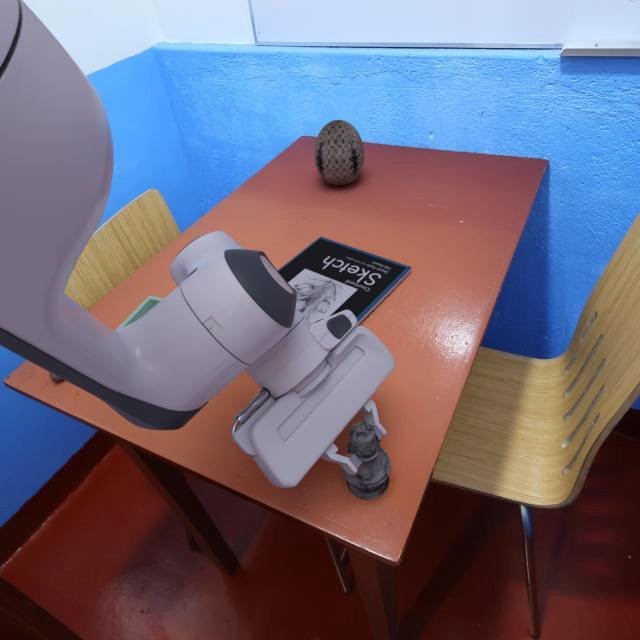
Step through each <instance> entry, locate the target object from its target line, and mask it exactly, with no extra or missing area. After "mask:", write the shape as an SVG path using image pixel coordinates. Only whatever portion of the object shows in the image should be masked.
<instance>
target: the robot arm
mask: <svg viewBox="0 0 640 640" xmlns="http://www.w3.org/2000/svg"><path fill="white" fill-rule="evenodd" d="M114 154H115V153H114V139H113V133H112V127H111V123H110V120H109V117H108V113H107V110H106V106H105V105H104V102H103V99H102V98H101V96H100V94H99V92H98V91H97V89H96V88H95V87H94V85H93V84H92V82H91V81H90V80H89V78H88V77H87V76H86V74H85V72H84V71H83V70H82V69H81V68H80V66H79V65H78V64H77V62H76V61H75V59H74V58H73V57H72V56H71V54H69V52H68V51H67V50H66V49H65V47H64V46H63V45H62V44H61V43H60V41H59V40H58V39H57V38H56V36H55V35H54V34H53V33H52V32H51V30H50V29H49V28H48V27H47V26H46V25H45V24H44V23H43V21H42V20H41V19H40V18H39V17H38V16H37V15H36V13H34V11H33V10H32V9H31V8H30V7H29V6H28V5H27V4H26V3H25V1H24V0H0V346H1V347H2V348H5V350H7V351H10V352H11V353H13V354H15V355H17V356H19V357H20V358H22V359H24V360H26V361H28V362H30V363H31V364H34V365H36V366H37V367H39V368H41V369H43V370H44V371H46V372H48V373H49V372H51V373H52V374H54V375H56V376H58V377H60V378H62V380H64V381H66V382H68V383H70V384H71V385H73V386H75V387H77V388H79V389H81V390H83V391H84V392H87V393H89V394H90V395H92V396H94V397H96V398H98V399H99V400H101V402H103V403H105V404H106V405H107V406H109V407H110V408H111V409H112V410H113V411H115V412H116V413H117V414H118V415H120V416H121V417H122V418H123V419H125V420H126V421H127V422H129V423H131V424H132V425H133V426H136V427H138V428H141V429H145V430H151V431H176V430H181V429H183V428H184V427H185V426H186V425H187V424H188V423H189V422H190V421H191V420H192V419H193V418H194V417H195V416H196V415H197V414H198V413H199V412H200V411H201V410H202V409H203V408H205V406H206V405H207V404H208V403H209V402H210V400H211V399H213V398H214V397H215V396H216V395H217V394H219V393H220V392H222V390H224V389H225V388H226V387H227V386H229V384H231V383H232V382H233V381H234V380H236V379H237V378H238V377H239V376H240V375H242V374H243V373H244V372H246V374H247V375H248V376H249V377H250V379H252V381H253V382H254V383H255V384H256V385H257V386H258V387H259V389H260V391H259V392H258V393H257V394H256V395H255V396H254V397H252V399H251V400H250V401H249V403H248V404H247V405H246V406H245V407H243V408H242V409H241V410H239V411H238V412H237V413H236V415H235V416H234V417H233V420H234V422H233V423H232V427H231V438H232V440H233V442H234V444H235V445H236V446H237V447H238V448H239V449H240V450H241V452H242V453H243V454H245V455H246V456H248V457H251V458H252V459H253V461H254V462H255V464H256V466H257V467H258V468H259V469H260V471H261V473H262V474H263V475H264V476H265V478H266V479H267V480H268V481H269V483H271V485H273V486H274V487H276V488H281V489H292V488H295V487H297V485H298V484H299V483H300V482H301V481H302V479H303V478H304V477H305V476H306V475H307V474H308V473H309V472H310V470H311V469H312V468H313V466H314V465H315V464H316V463H317V462H318V460H319V459H320V458H321V460H324V461H327V462H331V463H334V464H337V465H338V464H339V466H340V467H341V466H342V467H341V469H342V468H343V469H344V470H345V471H346V472H347V473H348V474H350V475H355V474H356V473H357V472H358V470H359V469H360V467H361V466H362V465H363V463H362V462H361V461H360V460H358V457H357V456H356V455H355V454H354V453H351V454H349V453H347V454H345V453H344V454H345V456H344V455H341V454H338V453H337V452H338V451H339V448H338V447H337V445H336V444H335V443H334V441H335V440H336V439H337V438H338V436H339V435H341V433H342V432H343V431H344V430H345V428H346V427H347V426H348V425H349V423H350V422H351V421H352V420H353V419H354V418H355V417H356V416H357V414H363V417H364V420H365V421H364V422H367V423H369V424H371V425H372V426H373V428H374V430H375V434H376V439H377V440H378V442H379V443H381V442H382V441H383V439H384V438H385V437H386V435H387V434H388V432H387V429H385V428H384V426H383V425H382V424H381V423H380V418H379V417H380V416H379V413H378V408H377V404H376V403H375V402H374V400H373V399H372V398H371V397H372V396H373V395H374V394H375V393H376V391H378V389H379V388H380V387H381V386H382V385H383V383H384V382H385V381H386V380H387V378H388V377H389V376H390V375H391V374H392V372H393V371H394V370H395V369H396V364H395V363H396V362H395V358H394V355H393V354H392V352H391V351H390V350H389V349H388V348H387V345H385V344H384V343H383V342H382V341H381V339H380V338H378V336H377V335H375V333H374V332H372V330H371V329H369V328H368V327H365V326H364V325H359V326H356V324H357V318H356V317H355V315H354V314H353V313H352V312H351V311H350V310H344V311H341V312H339V313H337V314H334V315H332V316H330V317H328V318H325V319H320V320H318V321H316V322H314V323H313V324H312V323H310V322H309V321H308V320H307V318H306V317H305V316H304V315H303V314H302V313H301V312H300V311H298V310H297V309H296V300H297V291H296V290H295V289H294V288H293V287H292V286H291V285H290V284H289V283H288V282H287V281H286V280H285V279H284V278H283V276H282V275H281V274H280V273H279V272H278V270H279V269H277V268H276V267H275V265H274V264H273V263H272V262H271V260H270V259H269V257H268V255H267V254H266V252H264V251H263V250H255V249H246V248H245V247H243V246H242V245H241V244H240V243H239V242H238V241H237V240H235V239H234V238H233V237H232V236H231V235H229V234H228V233H227V232H225V231H223V230H213V231H210V232H207V233H204V234H202V235H200V236H198V237H196V238H194V239H192V240H191V241H190V242H188V243H187V244H186V245H185V246H184V247H183V248H182V249H181V250H179V252H178V253H177V255H176V256H175V257H174V258H173V260H172V262H171V264H170V268H169V273H170V276H171V278H172V280H173V281H174V283H175V285H176V286H177V287H175V289H173V291H171V292H170V293H169V294H168V295H166V296H165V297H163V298H164V299H163V300H162V301H160V302H159V303H158V304H157V305H156V306H154V307H153V308H152V309H151V310H150V311H148V312H147V313H146V314H145V315H144V316H142V317H141V318H140V319H138V320H137V321H135V322H133V323H131V324H129V325H127V326H125V327H122V328H119V329H117V328H115V329H112V328H110V327H109V326H108V325H106V324H105V323H104V322H103V321H101V320H100V319H99V318H97V317H96V316H95V315H93V314H92V313H91V312H90V311H89V310H87V309H86V308H84V307H83V306H82V305H80V304H79V303H77V301H75V300H74V299H72V298H71V297H70V296H69V295H67V294H66V293H65V292H66V289H67V286H68V283H69V281H70V278H71V275H72V273H73V271H74V269H75V267H76V265H77V263H78V261H79V259H80V257H81V255H82V254H83V252H84V250H85V249H86V247H87V245H88V243H89V242H90V240H91V239H92V237H93V235H94V234H95V232H96V230H97V229H98V227H99V225H100V222H101V220H102V218H103V215H104V212H105V211H106V208H107V204H108V201H109V198H110V193H111V187H112V182H113V175H114V164H115V163H114V162H115V160H114V159H115V155H114ZM238 425H239V426H238ZM237 426H238V427H237Z"/></svg>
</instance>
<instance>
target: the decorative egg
mask: <svg viewBox="0 0 640 640" xmlns="http://www.w3.org/2000/svg"><path fill="white" fill-rule="evenodd" d="M313 157H314V164H315V167H316V169H317V172H318V173H319V175H320V176H321V178H322V179H323V180H325V181H326V182H327V183H330V184H331V185H333V186H344V185H348V184H350V183H352V182H353V181H354V180H356V179H357V178H358V176H359V175H360V173H361V171H362V170H363V167H364V163H365V147H364V143H363V140H362V137H361V135H360V133H359V131H358V130H357V129H356V128H355V127H354V126H353V124H351V123H350V122H349V121H346V120H343V119H334V120H330V121H329V122H328V123H326V124H325V125H324V126H323V127H322V128H321V130H320V131H319V132H318V134H317V136H316V140H315V144H314V156H313Z"/></svg>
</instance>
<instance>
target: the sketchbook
mask: <svg viewBox="0 0 640 640" xmlns="http://www.w3.org/2000/svg"><path fill="white" fill-rule="evenodd" d="M412 268H413V267H412V266H410V265H407V264H404V263H400V262H398V261H395V260H392V259H388V258H386V257H383V256H380V255H378V254H374V253H371V252H368V251H366V250H363V249H359V248H356V247H353V246H351V245H348V244H344V243H341V242H339V241H335V240H332V239H331V238H327V237H324V236H319V237H318V238H316V239H315V240H314V241H313V242H312V243H310V244H309V245H308V246H306V247H305V248H304V249H302V251H300V252H299V253H297V254H296V255H295V256H294V257H293V258H291V259H290V260H289V261H287V262H286V263H285V264H284V265H282V266H281V267H280V268H279V269H277V270H278V272H279V273H280V274H281V275H282V276H283V278H284V279H285V280H286V281H287V282H288V283H289V284H290V285H291V286H292V287H293V288H294V289H295V290H296V291H297V300H296V309H297V310H298V311H300V312H301V313H302V314H303V315H304V316H305V317H306V318H307V320H308V321H309V322H310V323H312V324H313V323H314V322H316V321H318V320H320V319H325V318H328V317H330V316H332V315H334V314H337V313H339V312H341V311H344V310H350V311H351V312H352V313H353V314H354V315H355V317H356V318H357V324H356V326H361V324H362V323H363V321H365V320H366V319H367V318H368V317H369V315H371V314H372V313H373V312H374V311H375V310H376V309H377V307H378V306H380V304H381V303H382V302H383V301H384V300H385V299H386V298H388V296H389V295H390V294H392V292H393V291H394V290H395V289H396V288H397V287H398V286H399V285H400V284H401V283H402V282H403V281H404V280H405V279H406V278H408V276H409V275H410V274H411V273H412Z"/></svg>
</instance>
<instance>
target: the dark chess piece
mask: <svg viewBox="0 0 640 640" xmlns="http://www.w3.org/2000/svg"><path fill="white" fill-rule="evenodd" d="M348 437H349V441H348V445H347V451H346V452H345V453H344V455H343V456H345V454H347V453H349V454H351V453H354V454H355V455H356V456H357V457H358V460H360V461H361V462H362V463H363V465H362V466H361V467H360V469H359V470H358V472H357V473H356V474H355V475H350V474H348V473H347V472H346V471H345V470H344V469H343V468H342V466H341V465H340V468H341V472H342V474H343V477H344V479H345V480H346V486H347V487H348V490H349V492H351V494H352V495H353V496H355V497H356V498H358V499H361V500H365V501H366V500H367V501H371V500H376V499H378V498H380V497H381V496H382V495H384V494H385V492H386V491H387V489H388V487H389V485H390V473H391V470H392V462H391V458H390V456H389V454H388V452H387V451H386V450H385V449H384V448H383V447H382V446H381V445H380V442H378V440H377V439H376V434H375V430H374V428H373V426H372V425H371V424H369V423H367V422H366V421H358V422H356V423H354V424H352V425H351V426H350V428H349V431H348Z"/></svg>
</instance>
